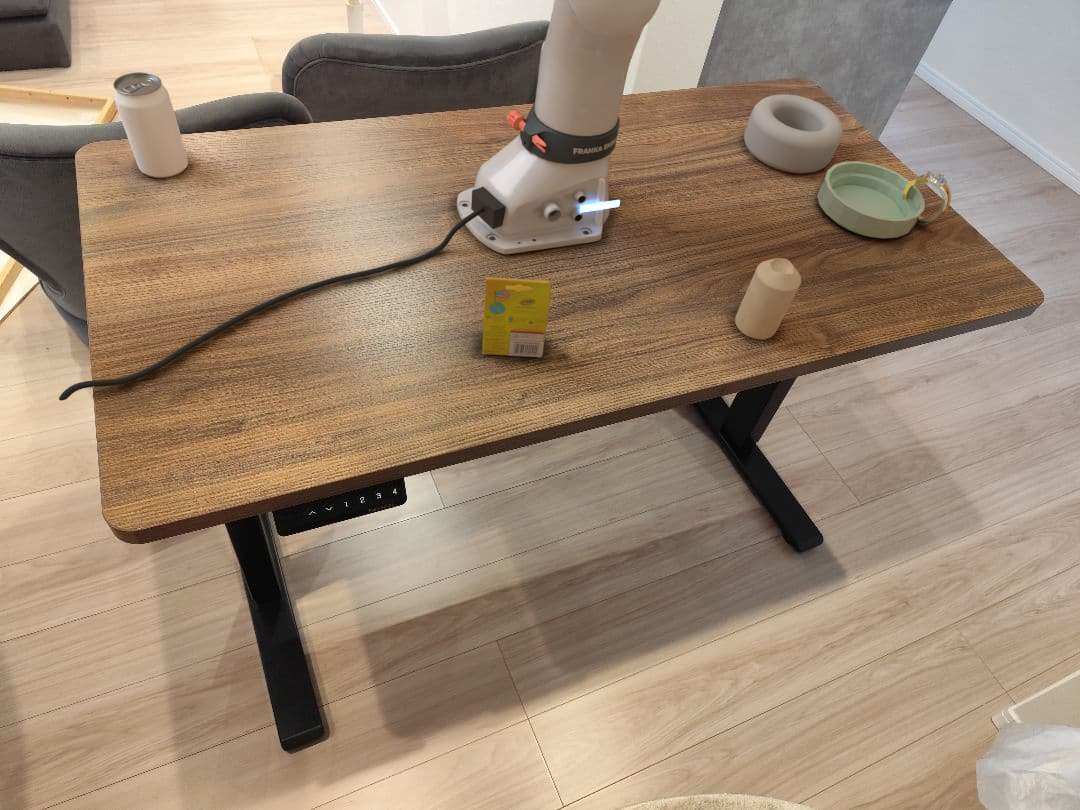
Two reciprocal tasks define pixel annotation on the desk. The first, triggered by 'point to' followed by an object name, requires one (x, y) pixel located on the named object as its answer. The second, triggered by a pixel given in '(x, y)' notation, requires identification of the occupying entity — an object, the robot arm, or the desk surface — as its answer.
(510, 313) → the crayon box
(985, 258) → the desk surface
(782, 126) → the donut shape
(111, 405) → the desk surface
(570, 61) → the robot arm
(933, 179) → the ring
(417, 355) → the desk surface
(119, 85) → the can
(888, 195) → the bowl
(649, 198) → the desk surface
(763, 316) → the candle
